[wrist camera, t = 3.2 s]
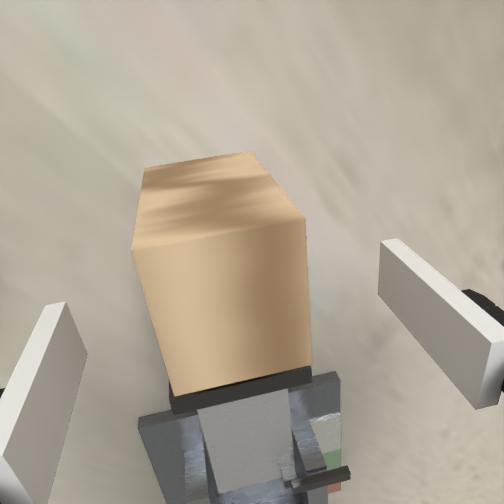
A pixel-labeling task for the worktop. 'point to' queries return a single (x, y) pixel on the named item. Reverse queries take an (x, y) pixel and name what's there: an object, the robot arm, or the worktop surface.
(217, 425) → the grey blocky piece
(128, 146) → the worktop surface
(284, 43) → the worktop surface
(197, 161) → the block
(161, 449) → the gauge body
